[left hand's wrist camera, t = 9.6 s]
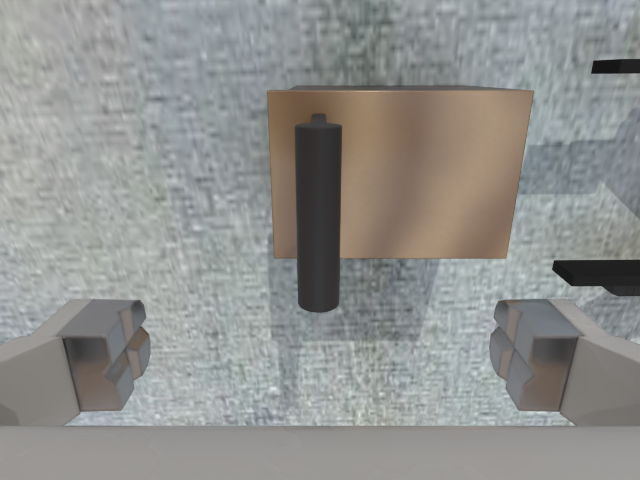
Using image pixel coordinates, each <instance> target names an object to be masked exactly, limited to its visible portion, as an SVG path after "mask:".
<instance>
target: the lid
mask: <svg viewBox="0 0 640 480" xmlns="http://www.w3.org/2000/svg"><path fill="white" fill-rule="evenodd" d="M533 94H534V91H532V90H269V91H268V92H267V97H268V121H269V145H270V170H271V194H272V218H273V242H274V258H297V273H298V304H299V306H300V307H301V308H302V309H304V310H306V311H310V312H327V311H331V310H333V309H335V308H336V307H337V306H338V304H339V283H340V258H506V257H507V251H508V245H509V239H510V233H511V227H512V221H513V215H514V209H515V203H516V197H517V191H518V185H519V179H520V173H521V167H522V161H523V155H524V148H525V142H526V136H527V130H528V124H529V118H530V112H531V106H532V100H533Z"/></svg>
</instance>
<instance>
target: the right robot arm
mask: <svg viewBox="0 0 640 480" xmlns="http://www.w3.org/2000/svg"><path fill="white" fill-rule="evenodd" d="M612 73H640V59H618V60H599V61H594V62H593V67H592V72H591V74H612ZM552 270H553V271H554V272H555V273H557V274H558V275H559V276H560V277H561V278H563V279H564V280H565V281H566V282H567V283H569V284H570V285H571V286H602V287H604V288H605V289H606V290H608V291H609V292H610V293H612V294H614V295H616V296H640V260H554V263H553V268H552Z"/></svg>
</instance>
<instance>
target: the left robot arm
mask: <svg viewBox="0 0 640 480" xmlns="http://www.w3.org/2000/svg"><path fill="white" fill-rule="evenodd" d="M145 319H146V313H145V308H144V304H143V303H142V302H141V301H140V300H111V299H74V300H69V301H68V302H67V303H66V304H65V305H64V306H62V307H61V308H60V309H59V310H58V311H57V312H56V313H55V314H53V315H52V316H51V317H50V318H49V319H48V320H47V321H46V322H44V323H43V324H42V325H41V326H40V327H39V328H38V329H36V330H35V331H34V332H33V333H32V334H31V335H30V336H21V337H19V338H16V339H13V340H11V341H8V342H6V343H3V344H1V345H0V480H640V345H639V344H637V343H634V342H632V341H629V340H627V339H624V338H621V337H619V336H610V335H609V334H608V333H607V332H606V331H605V330H604V329H602V328H601V327H600V326H599V325H598V324H597V323H596V322H595V321H593V320H592V319H591V318H590V317H589V316H588V315H587V314H586V313H584V312H583V311H582V310H581V309H580V308H579V307H578V306H577V305H575V304H574V303H573V302H572V301H571V300H568V299H529V300H502V301H498V303H497V305H496V308H495V313H494V319H495V320H496V322H497V324H498V325H499V327H498V328H497V329H496V330H495V331H494V332H493V333H492V334H491V338H490V346H489V349H490V359H491V362H492V365H493V368H494V370H495V372H496V373H497V375H498V376H500V377H501V378H503V379H504V380H506V381H507V384H506V390H507V392H508V394H509V395H510V397H511V399H512V400H513V402H514V404H515V405H516V407H517V409H518V410H519V411H553V412H560V414H561V415H562V416H564V417H565V418H566V419H568V420H569V421H571V422H572V423H573V424H575V425H576V426H64V425H66V424H67V423H68V422H70V421H71V420H72V419H74V418H75V417H76V416H78V415H79V414H80V412H87V411H121V410H122V409H123V407H124V405H125V404H126V402H127V400H128V399H129V397H130V395H131V394H132V392H133V390H134V383H133V381H134V380H136V379H137V378H139V377H140V376H142V375H143V373H144V372H145V370H146V368H147V366H148V362H149V358H150V337H149V334H148V333H147V332H146V331H145V330H144V329H143V328H142V327H141V325H142V324H143V322H144V320H145Z"/></svg>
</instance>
